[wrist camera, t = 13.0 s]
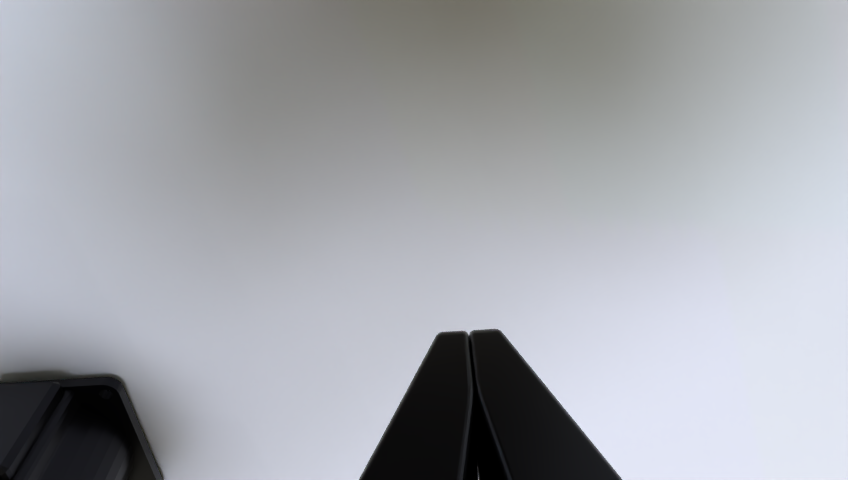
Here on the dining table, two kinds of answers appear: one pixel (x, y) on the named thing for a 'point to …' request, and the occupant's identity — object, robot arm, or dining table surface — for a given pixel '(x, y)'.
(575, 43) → the dining table surface
